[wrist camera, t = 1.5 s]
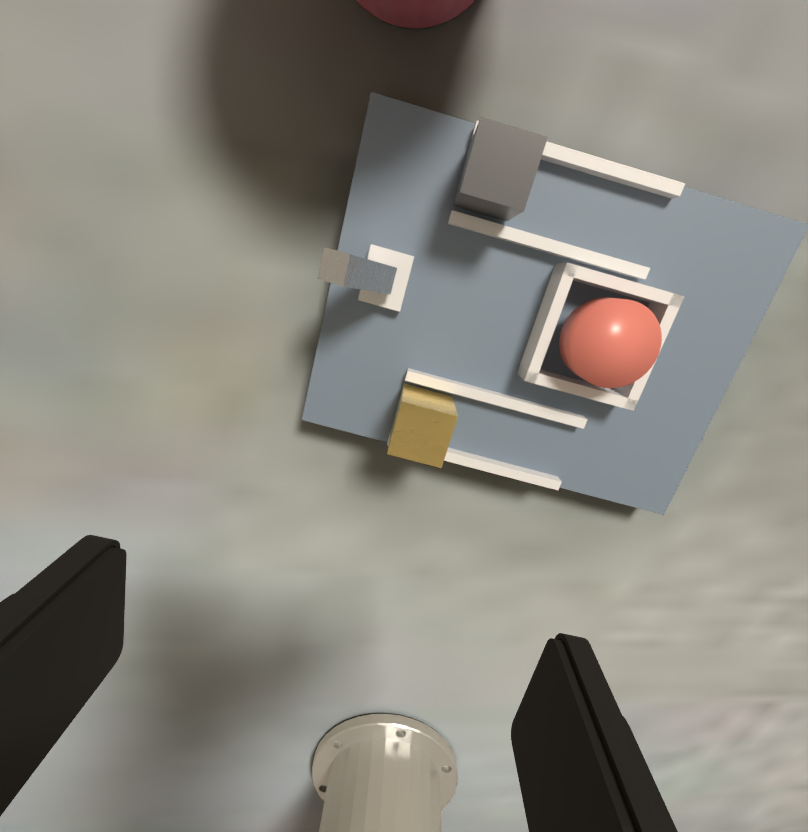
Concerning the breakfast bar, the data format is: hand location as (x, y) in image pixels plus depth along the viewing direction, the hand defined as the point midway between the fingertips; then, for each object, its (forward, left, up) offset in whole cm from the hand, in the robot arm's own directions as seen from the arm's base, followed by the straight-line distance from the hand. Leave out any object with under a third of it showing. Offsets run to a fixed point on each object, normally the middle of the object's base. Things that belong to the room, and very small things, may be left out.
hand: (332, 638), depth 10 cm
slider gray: (+13, -2, -18) cm, 23 cm away
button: (+7, -10, -17) cm, 21 cm away
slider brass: (0, -2, -18) cm, 18 cm away
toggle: (+7, +2, -18) cm, 19 cm away
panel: (+7, -7, -21) cm, 23 cm away
